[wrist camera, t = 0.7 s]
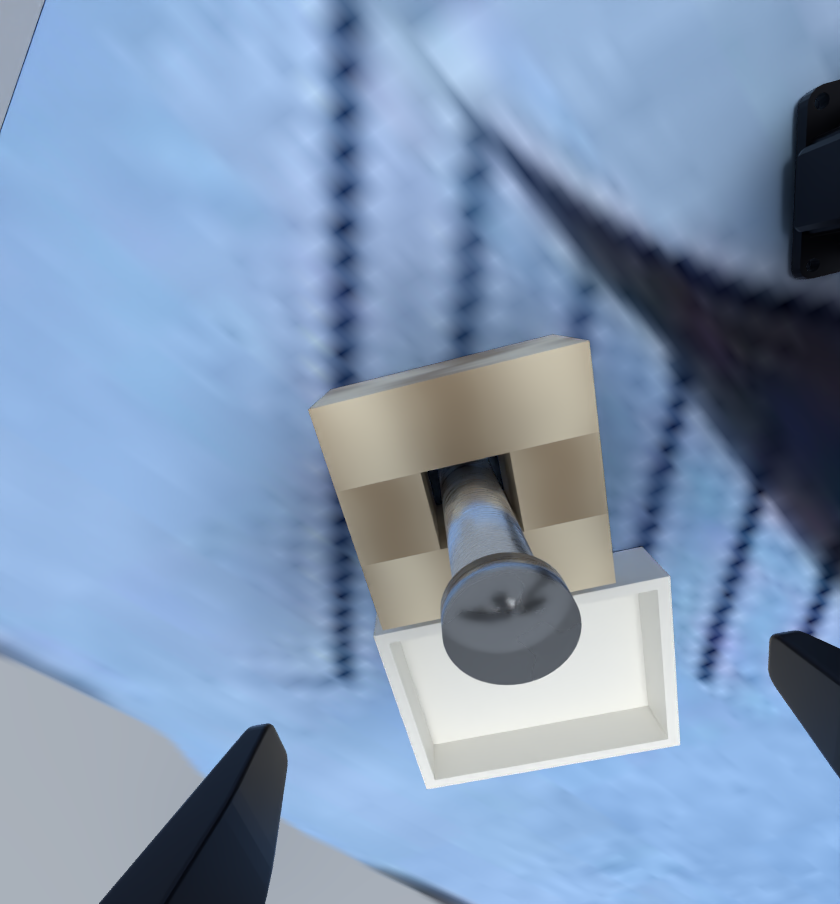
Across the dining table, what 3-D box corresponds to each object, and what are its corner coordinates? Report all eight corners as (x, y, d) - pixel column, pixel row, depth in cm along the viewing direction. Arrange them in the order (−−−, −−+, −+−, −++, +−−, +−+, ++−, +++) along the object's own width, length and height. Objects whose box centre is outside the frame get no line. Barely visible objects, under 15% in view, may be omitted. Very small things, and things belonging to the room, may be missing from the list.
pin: (489, 426, 19) (572, 558, 9) (501, 488, 20) (588, 670, 10) (422, 442, 19) (427, 589, 9) (437, 503, 20) (458, 696, 10)
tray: (642, 546, 21) (670, 576, 19) (654, 703, 25) (680, 744, 22) (377, 601, 22) (373, 636, 20) (425, 745, 26) (426, 789, 23)
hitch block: (552, 334, 18) (589, 340, 14) (580, 533, 21) (615, 582, 17) (330, 389, 19) (308, 409, 15) (388, 574, 22) (382, 630, 18)
